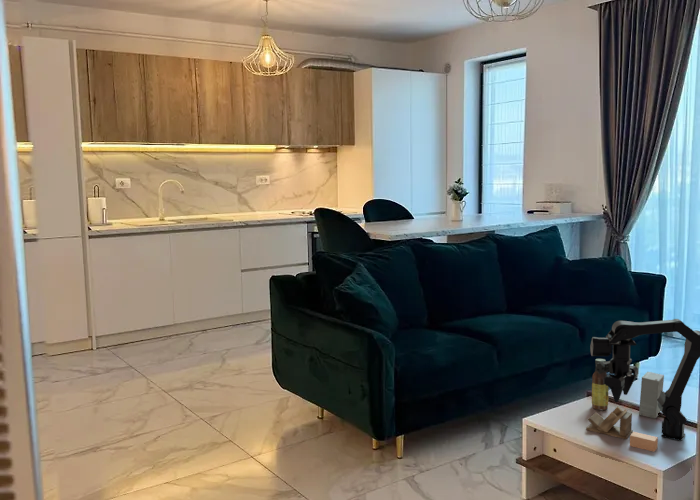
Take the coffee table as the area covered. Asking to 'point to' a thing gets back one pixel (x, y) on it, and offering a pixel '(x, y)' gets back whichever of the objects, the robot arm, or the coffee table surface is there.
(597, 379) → the sauce bottle
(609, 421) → the cradle
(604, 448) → the coffee table surface
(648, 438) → the peg
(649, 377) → the skincare box
